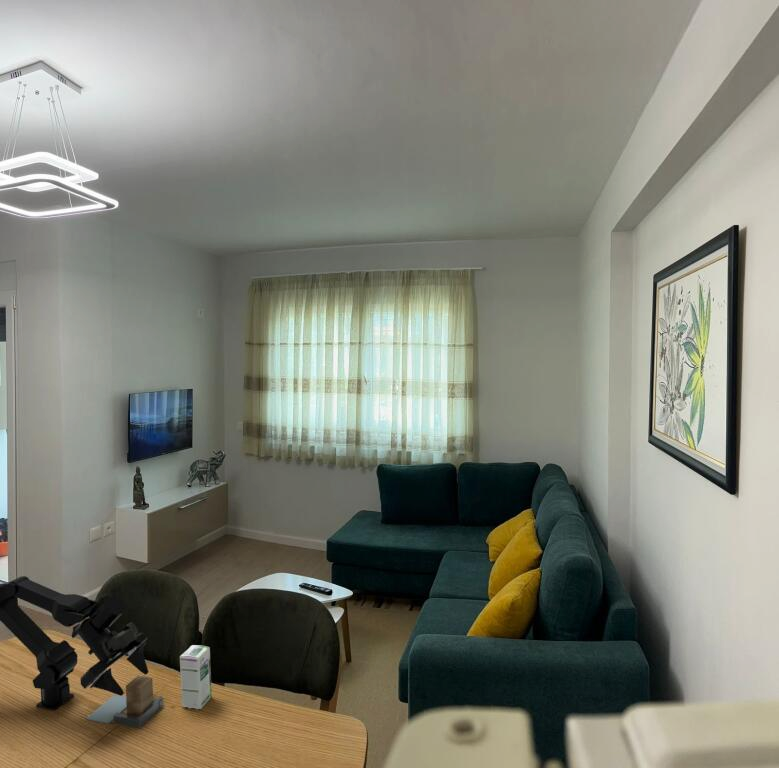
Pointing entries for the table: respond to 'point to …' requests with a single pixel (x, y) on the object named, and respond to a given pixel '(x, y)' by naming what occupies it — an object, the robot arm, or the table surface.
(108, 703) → the mat
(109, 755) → the table surface
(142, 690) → the walnut block
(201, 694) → the syrup box
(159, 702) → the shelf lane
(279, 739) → the table surface
